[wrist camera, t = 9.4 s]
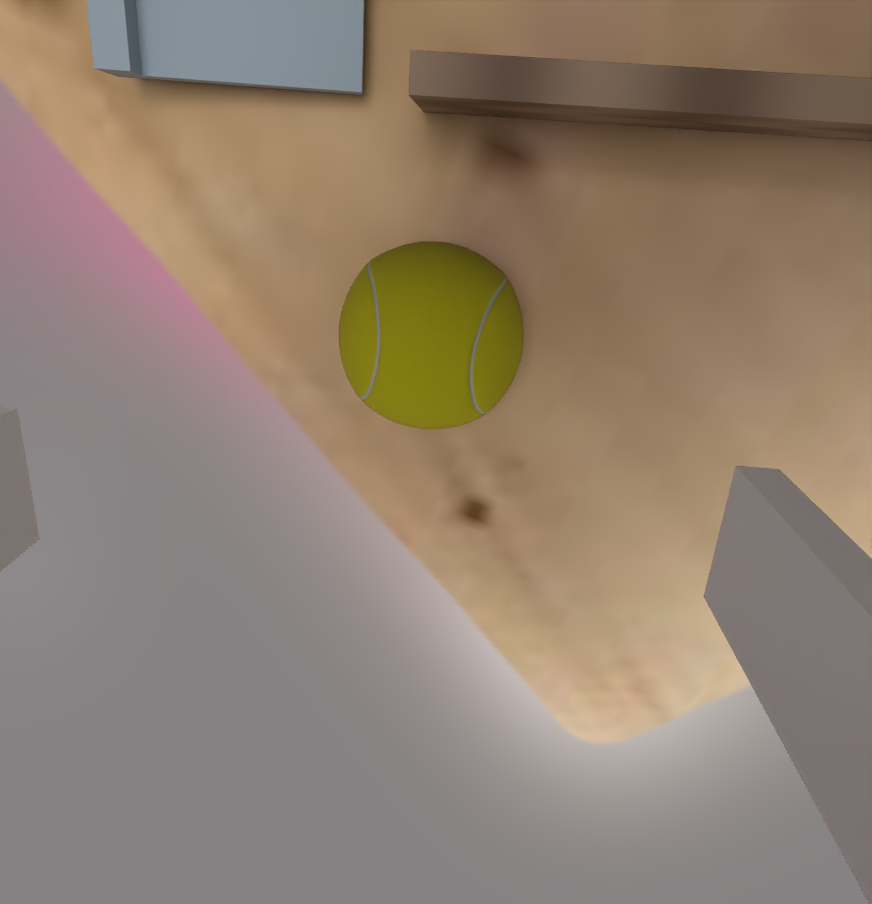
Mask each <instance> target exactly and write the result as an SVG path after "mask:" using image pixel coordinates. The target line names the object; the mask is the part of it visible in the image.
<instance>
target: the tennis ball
mask: <svg viewBox="0 0 872 904" xmlns="http://www.w3.org/2000/svg"><path fill="white" fill-rule="evenodd" d="M339 347H340V354H341V359H342V363H343V367H344V370H345V372H346V375H347V377H348V379H349V382H350V383H351V385H352V387H353V389H354V391H355V392H356V394H357V395H358V396H359V397H360V398H361V400H362V401H363V402H364V403H365V404H366V405H367V406H369V407H370V408H371V409H372V410H374V411H375V412H377V413H378V414H380V415H382V416H383V417H385V418H387V419H389V420H391V421H394V422H396V423H399V424H402V425H406V426H410V427H415V428H422V429H442V428H450V427H455V426H459V425H462V424H465V423H468V422H470V421H473V420H475V419H477V418H479V417H481V416H483V415H484V414H485V413H486V412H488V411H489V410H491V409H492V408H493V407H494V406H495V405H496V403H497V402H498V401H499V400H500V399H501V397H502V396H503V395H504V393H505V392H506V390H507V389H508V387H509V386H510V384H511V382H512V380H513V378H514V376H515V373H516V371H517V368H518V365H519V362H520V358H521V353H522V347H523V321H522V315H521V310H520V306H519V303H518V300H517V297H516V294H515V292H514V289H513V287H512V285H511V283H510V281H509V280H508V278H507V277H506V276H505V274H504V273H503V272H502V271H501V270H500V269H499V268H498V267H496V266H495V265H494V264H493V263H491V262H490V261H488V260H487V259H486V258H484V257H482V256H481V255H479V254H477V253H475V252H473V251H471V250H469V249H466V248H464V247H461V246H457V245H454V244H449V243H443V242H417V243H411V244H406V245H403V246H400V247H397V248H394V249H392V250H389V251H387V252H385V253H382V254H380V255H379V256H377V257H375V258H374V259H372V260H371V261H370V262H369V263H368V264H367V265H366V266H365V267H364V268H363V269H362V271H361V272H360V273H359V275H358V276H357V278H356V279H355V281H354V283H353V285H352V286H351V288H350V290H349V292H348V294H347V297H346V299H345V302H344V305H343V309H342V313H341V318H340V325H339Z"/></svg>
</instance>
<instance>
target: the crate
mask: <svg viewBox="0 0 872 904" xmlns="http://www.w3.org/2000/svg"><path fill="white" fill-rule="evenodd" d="M409 96H410V97H411V98H412V99H413V100H414V101H415V102H416V104H417V105H418V106H419V107H420V108H421V109H422V110H423V112H433V113H449V114H464V115H480V116H495V117H511V118H527V119H542V120H558V121H573V122H589V123H604V124H620V125H635V126H651V127H667V128H682V129H698V130H713V131H729V132H744V133H760V134H775V135H791V136H807V137H822V138H838V139H853V140H869V141H872V78H860V77H843V76H827V75H811V74H794V73H778V72H762V71H746V70H729V69H713V68H697V67H680V66H664V65H648V64H631V63H615V62H599V61H582V60H566V59H550V58H534V57H517V56H501V55H485V54H468V53H452V52H436V51H419V50H411V52H410V75H409Z"/></svg>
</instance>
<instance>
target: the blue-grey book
mask: <svg viewBox="0 0 872 904" xmlns="http://www.w3.org/2000/svg"><path fill="white" fill-rule="evenodd" d="M87 9H88V19H89V28H90V37H91V46H92V56H93V65H94V69H97V70H100V71H103V72H106V73H109V74H112V75H115V76H118V77H131V78H144V79H157V80H170V81H184V82H197V83H210V84H223V85H236V86H250V87H263V88H276V89H289V90H303V91H316V92H329V93H342V94H356V95H363V67H364V18H365V0H87Z"/></svg>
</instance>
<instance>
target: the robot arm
mask: <svg viewBox="0 0 872 904" xmlns="http://www.w3.org/2000/svg"><path fill="white" fill-rule="evenodd" d="M38 540H39V534H38V527H37V521H36V515H35V509H34V503H33V498H32V491H31V485H30V480H29V474H28V468H27V462H26V456H25V450H24V444H23V438H22V433H21V426H20V420H19V414H18V409H17V408H16V407H2V406H0V571H2V570H3V569H4V568H5V567H6V566H8V565H9V564H10V563H11V562H12V561H14V560H15V559H16V558H17V557H19V556H20V555H21V554H22V553H23V552H25V550H27V549H28V548H29V547H31V546H32V545H33V544H34V543H36V542H37V541H38ZM704 598H705V600H706V602H707V604H708V606H709V607H710V609H711V611H712V613H713V615H714V617H715V619H716V620H717V622H718V624H719V626H720V628H721V630H722V632H723V633H724V635H725V637H726V639H727V641H728V643H729V645H730V646H731V648H732V650H733V652H734V654H735V656H736V658H737V659H738V661H739V663H740V665H741V667H742V669H743V671H744V672H745V674H746V676H747V678H748V680H749V682H750V684H751V685H752V687H753V689H754V691H755V693H756V695H757V697H758V698H759V700H760V702H761V704H762V706H763V708H764V710H765V711H766V713H767V715H768V717H769V719H770V721H771V723H772V724H773V726H774V728H775V730H776V732H777V734H778V736H779V737H780V739H781V741H782V743H783V744H784V746H785V748H786V750H787V752H788V754H789V756H790V758H791V760H792V761H793V763H794V765H795V767H796V769H797V771H798V772H799V774H800V776H801V778H802V780H803V782H804V784H805V786H806V787H807V789H808V791H809V793H810V795H811V797H812V799H813V800H814V802H815V804H816V806H817V808H818V810H819V811H820V813H821V815H822V817H823V819H824V821H825V823H826V824H827V826H828V828H829V830H830V832H831V834H832V836H833V838H834V839H835V841H836V843H837V845H838V847H839V849H840V851H841V852H842V854H843V856H844V858H845V860H846V862H847V863H848V865H849V867H850V869H851V871H852V873H853V875H854V876H855V878H856V880H857V882H858V884H859V886H860V888H861V890H862V891H863V893H864V895H865V897H866V899H867V900H868V903H869V904H872V559H871V558H870V557H869V556H868V555H867V554H866V553H865V552H864V551H863V550H862V549H861V548H860V547H859V546H858V545H857V544H856V543H855V542H854V541H853V540H852V539H851V538H850V537H849V536H847V535H846V534H845V533H844V532H843V531H842V530H841V529H840V528H839V527H838V526H837V525H836V524H835V523H834V522H833V521H832V520H831V519H830V518H829V517H828V516H827V515H826V514H825V513H824V512H823V511H822V510H821V509H820V508H819V507H818V506H816V505H815V504H814V503H813V502H812V501H811V500H810V499H809V498H808V497H807V496H806V495H805V494H804V493H803V492H802V491H801V490H800V489H799V488H798V487H797V486H796V485H795V484H794V483H793V482H792V481H791V480H790V479H789V478H788V477H787V476H786V475H784V474H783V473H782V472H781V471H780V470H779V469H769V468H757V467H744V466H736V467H735V471H734V475H733V480H732V484H731V488H730V492H729V496H728V500H727V504H726V508H725V512H724V516H723V520H722V524H721V528H720V532H719V536H718V540H717V545H716V549H715V553H714V557H713V561H712V565H711V569H710V573H709V577H708V581H707V585H706V589H705V593H704Z"/></svg>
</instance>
